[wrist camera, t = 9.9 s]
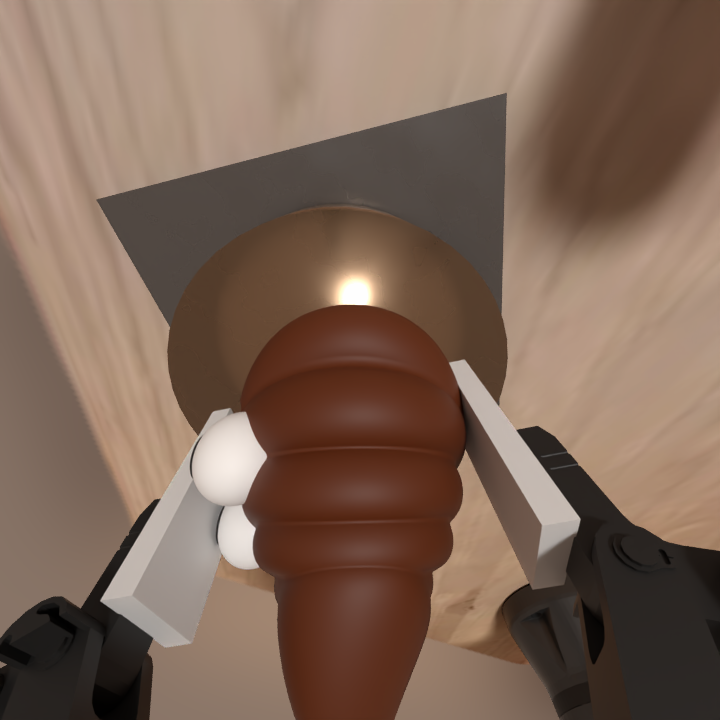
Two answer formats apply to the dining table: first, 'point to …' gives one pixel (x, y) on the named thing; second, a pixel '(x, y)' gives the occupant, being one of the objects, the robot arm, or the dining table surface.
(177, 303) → the post stand
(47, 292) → the dining table surface
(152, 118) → the dining table surface
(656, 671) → the robot arm
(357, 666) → the poop emoji
